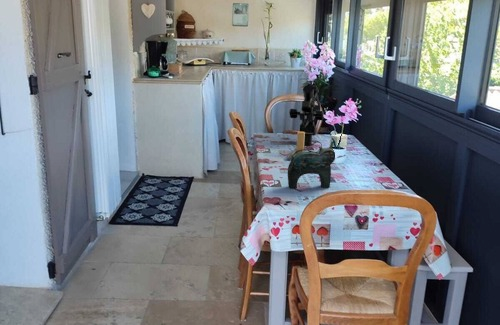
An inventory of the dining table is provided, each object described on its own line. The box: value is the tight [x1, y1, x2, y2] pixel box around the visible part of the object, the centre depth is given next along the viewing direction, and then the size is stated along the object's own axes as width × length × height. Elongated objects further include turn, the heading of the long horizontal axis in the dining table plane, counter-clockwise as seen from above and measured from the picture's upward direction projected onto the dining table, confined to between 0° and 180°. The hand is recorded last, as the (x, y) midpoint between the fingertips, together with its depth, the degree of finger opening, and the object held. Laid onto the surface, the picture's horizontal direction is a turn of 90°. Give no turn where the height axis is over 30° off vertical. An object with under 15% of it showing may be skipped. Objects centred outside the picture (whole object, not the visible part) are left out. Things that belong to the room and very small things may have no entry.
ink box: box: [329, 133, 349, 150], centre depth 240 cm, size 9×5×12 cm, turn 129°
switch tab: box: [295, 130, 305, 154], centre depth 237 cm, size 2×4×11 cm, turn 75°
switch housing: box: [286, 147, 308, 162], centre depth 236 cm, size 16×10×3 cm, turn 165°
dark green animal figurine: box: [287, 140, 336, 190], centre depth 188 cm, size 20×6×20 cm, turn 99°
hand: (304, 126), depth 246 cm, fingers closed
